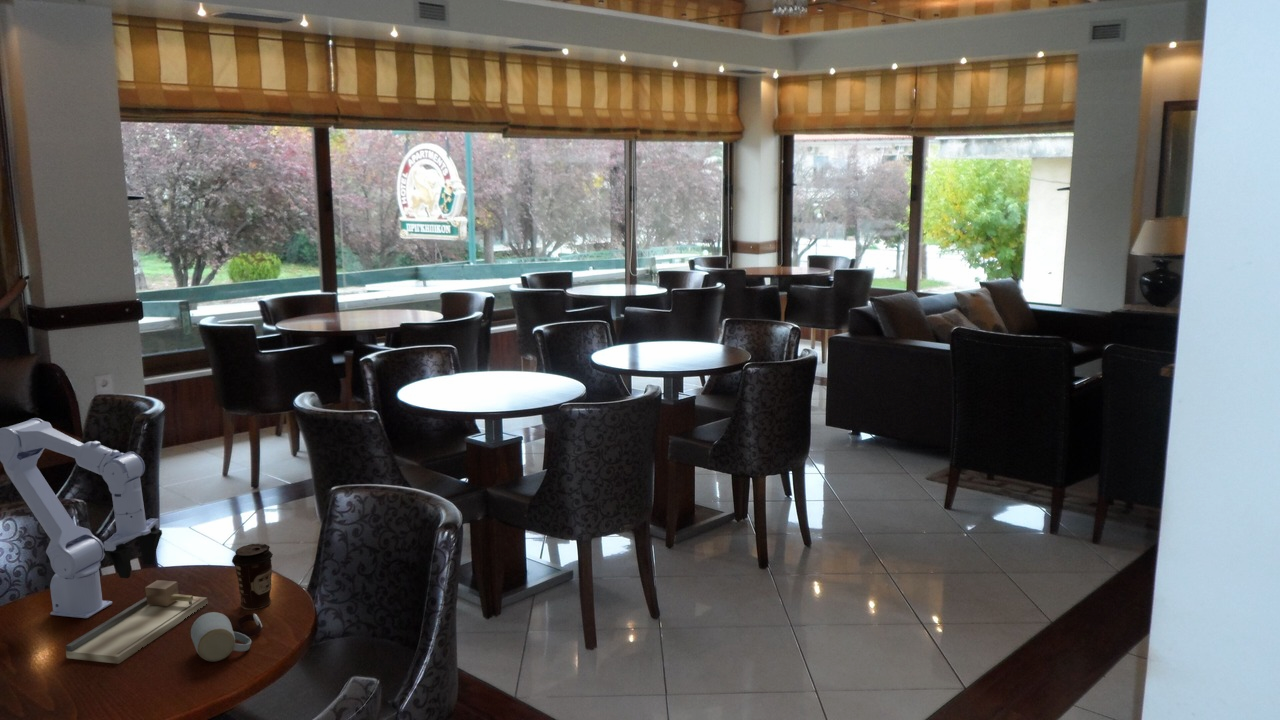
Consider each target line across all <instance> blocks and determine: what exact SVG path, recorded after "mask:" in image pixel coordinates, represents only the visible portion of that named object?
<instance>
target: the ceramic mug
mask: <svg viewBox="0 0 1280 720" xmlns="http://www.w3.org/2000/svg"><path fill="white" fill-rule="evenodd" d="M190 637H191V641H192V644H193V645H194V648H195V651H196V653H197V654H198V655H199V657H200V658H202V660H205V661H207V662H211V663H213V662H214V663H215V662H219V661H223V660H225V659H227V657H229V656H230V655H231V653H232V652H233V651H234V652H246V651H248V650H249V649H250V647H251V645H252V639H251V638H250V637H247V636H246V635H244V634H242V633H240V632H239V631H234V630H233V626H232V622H231V621H230V619H229V617H228V616H226V615H225V614H223V613H220V612H216V611H213V612H206V613H203V614H202V615H200V616H199V617H197V618H196V619H195V621H194V622H193V624H192V625H191V628H190ZM236 641H238V642H241V643H236Z"/></svg>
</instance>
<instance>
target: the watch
mask: <svg viewBox="0 0 1280 720" xmlns="http://www.w3.org/2000/svg"><path fill="white" fill-rule="evenodd" d="M250 621H251V622H252V621H253V622H254V623H255V624H256V625H257V626H256V627H254V628H251V629H247V630H245V629H243V628H242V626H243V625H244V624H246V623H247V622H250ZM236 626H237V630H238V632H239V633H241V634H244V635H246V636H247V637H249V638H250V637H255V636H257V635H259V634H260V633H261V632H262V629H263V624H262V622H261V619H260V617H259V616H258V615H257V614H256V613H253V614H252V613H247V614H245V615H242V616H241V617H239V619H238V620H237V622H236Z"/></svg>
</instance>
